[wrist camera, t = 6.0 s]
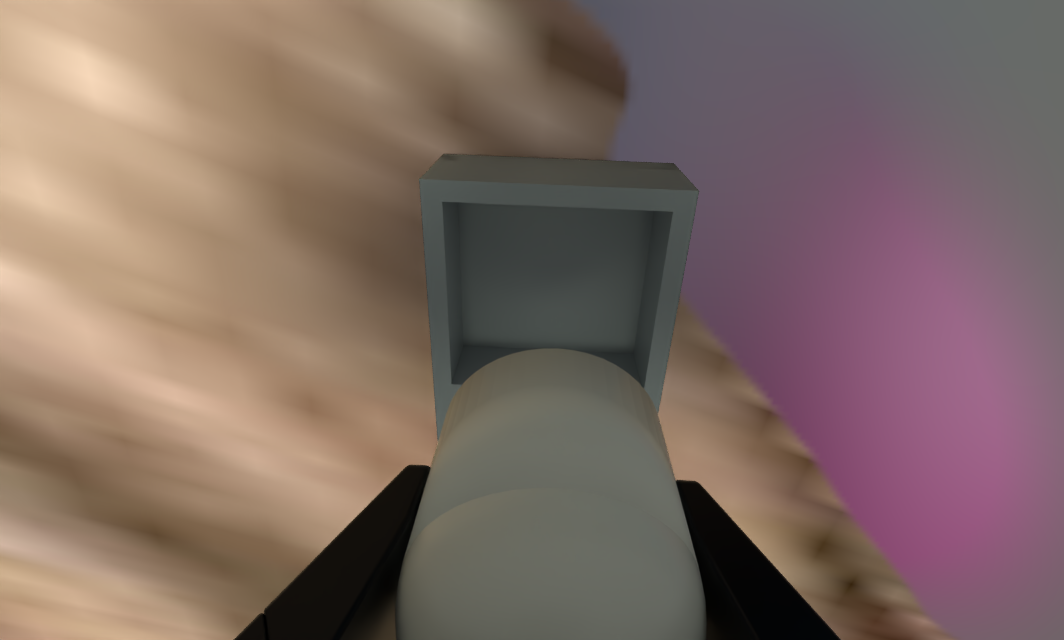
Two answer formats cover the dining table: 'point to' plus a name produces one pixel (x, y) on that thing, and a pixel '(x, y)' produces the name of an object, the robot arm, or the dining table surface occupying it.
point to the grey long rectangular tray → (553, 262)
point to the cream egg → (550, 513)
